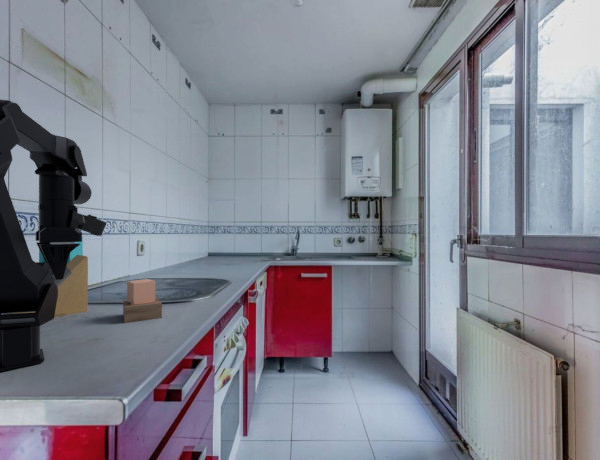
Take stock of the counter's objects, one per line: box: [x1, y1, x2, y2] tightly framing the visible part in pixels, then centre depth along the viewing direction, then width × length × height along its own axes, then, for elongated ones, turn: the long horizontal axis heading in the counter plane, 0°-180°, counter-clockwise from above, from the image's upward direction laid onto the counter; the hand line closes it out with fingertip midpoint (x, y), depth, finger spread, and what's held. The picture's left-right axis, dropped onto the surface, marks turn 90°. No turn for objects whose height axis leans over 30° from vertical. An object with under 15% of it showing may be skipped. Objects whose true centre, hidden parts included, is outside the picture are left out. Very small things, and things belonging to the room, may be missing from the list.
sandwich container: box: [10, 254, 89, 318], centre depth 80 cm, size 9×15×15 cm, turn 141°
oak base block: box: [122, 296, 163, 324], centre depth 78 cm, size 8×8×4 cm
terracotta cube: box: [126, 278, 156, 304], centre depth 78 cm, size 5×5×5 cm
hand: (57, 277), depth 64 cm, fingers open, 9 cm apart
